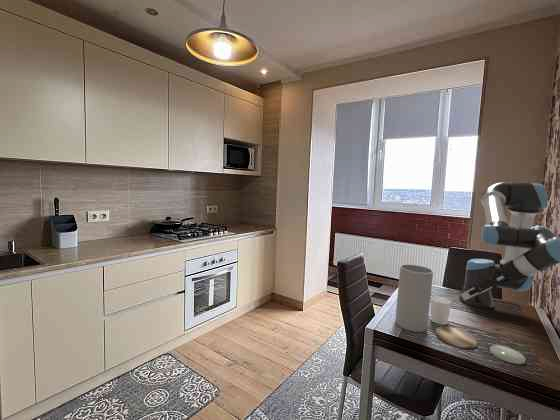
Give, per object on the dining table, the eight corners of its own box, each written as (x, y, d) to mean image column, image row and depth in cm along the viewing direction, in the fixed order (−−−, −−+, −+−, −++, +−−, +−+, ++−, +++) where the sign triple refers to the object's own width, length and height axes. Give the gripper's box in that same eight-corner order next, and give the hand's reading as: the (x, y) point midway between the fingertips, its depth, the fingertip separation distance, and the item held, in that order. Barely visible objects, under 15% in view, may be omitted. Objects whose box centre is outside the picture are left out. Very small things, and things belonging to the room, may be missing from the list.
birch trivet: (452, 327, 122) (452, 324, 122) (485, 345, 109) (485, 342, 109) (427, 331, 117) (427, 328, 117) (458, 350, 104) (459, 347, 104)
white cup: (425, 317, 131) (427, 296, 130) (441, 317, 131) (443, 296, 131) (435, 325, 123) (438, 303, 122) (453, 325, 124) (455, 303, 123)
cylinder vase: (411, 317, 130) (416, 263, 127) (434, 331, 118) (440, 272, 116) (388, 320, 126) (393, 264, 123) (409, 334, 114) (415, 274, 112)
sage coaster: (501, 346, 109) (501, 343, 109) (531, 361, 100) (532, 359, 100) (483, 349, 106) (483, 347, 106) (513, 366, 96) (513, 363, 96)
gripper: (518, 282, 94) (463, 309, 108) (538, 272, 109) (487, 297, 123) (501, 263, 98) (450, 291, 111) (522, 256, 113) (474, 281, 126)
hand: (469, 294), depth 117 cm, fingers open, 13 cm apart
